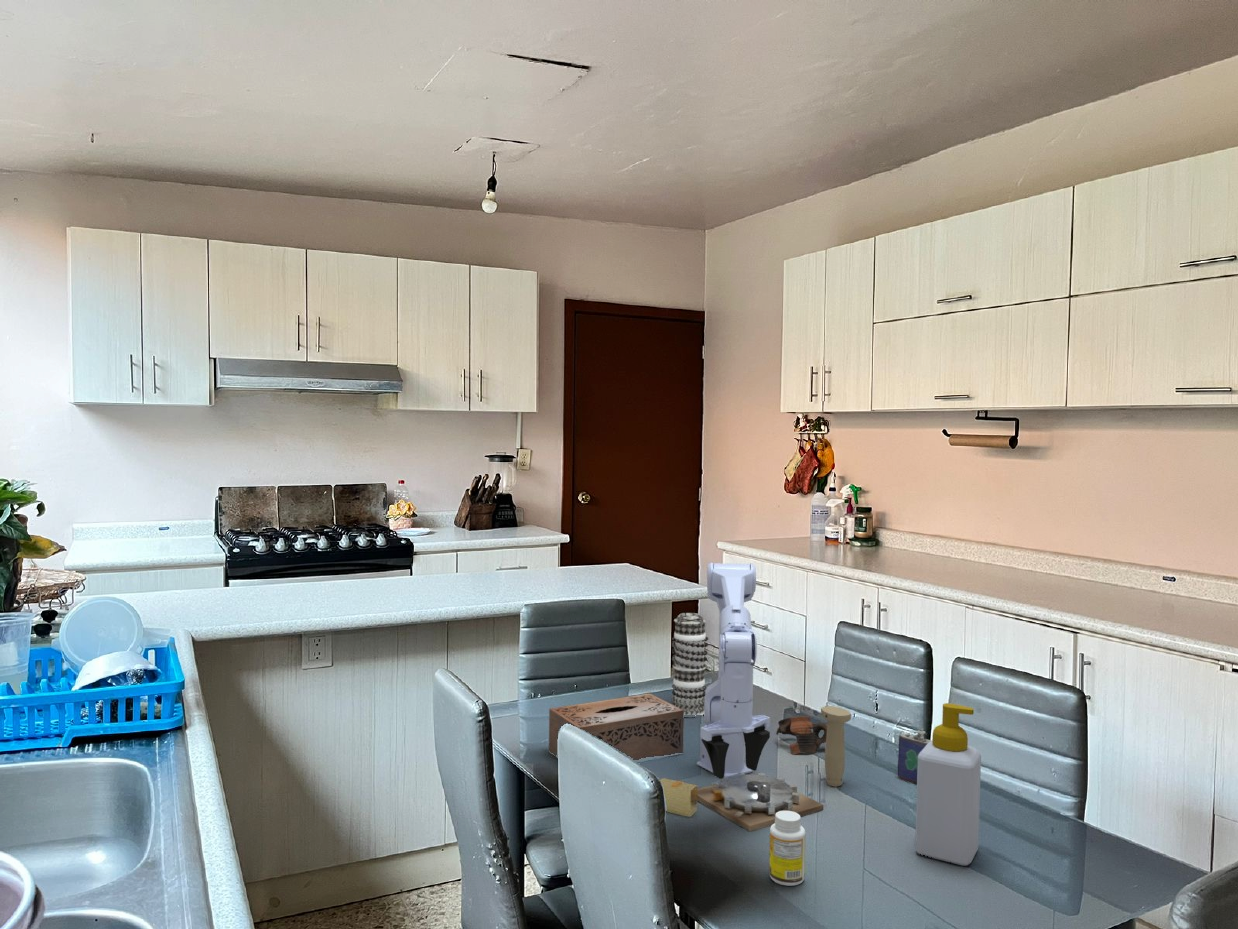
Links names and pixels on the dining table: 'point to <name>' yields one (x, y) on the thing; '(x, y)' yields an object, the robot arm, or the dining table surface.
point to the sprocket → (755, 793)
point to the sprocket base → (755, 818)
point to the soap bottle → (948, 792)
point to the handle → (835, 743)
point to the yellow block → (680, 797)
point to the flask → (910, 755)
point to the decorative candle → (689, 663)
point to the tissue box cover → (625, 724)
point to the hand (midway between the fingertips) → (735, 772)
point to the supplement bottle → (787, 849)
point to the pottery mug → (803, 733)
